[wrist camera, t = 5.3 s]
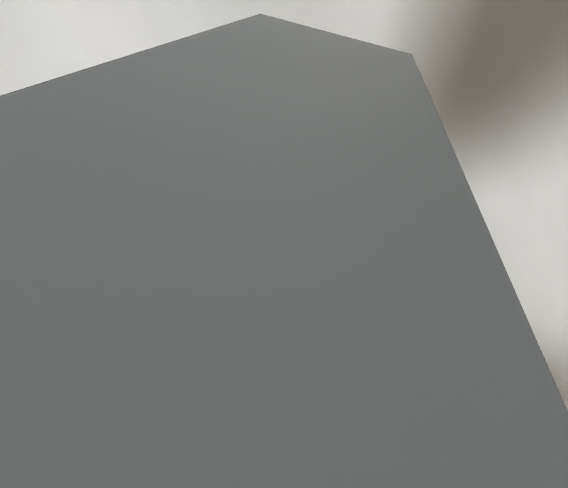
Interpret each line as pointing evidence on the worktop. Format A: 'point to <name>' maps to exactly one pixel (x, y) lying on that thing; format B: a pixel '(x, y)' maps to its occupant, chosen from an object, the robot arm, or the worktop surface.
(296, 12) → the worktop surface
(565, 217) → the worktop surface
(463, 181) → the pale blue tall box
